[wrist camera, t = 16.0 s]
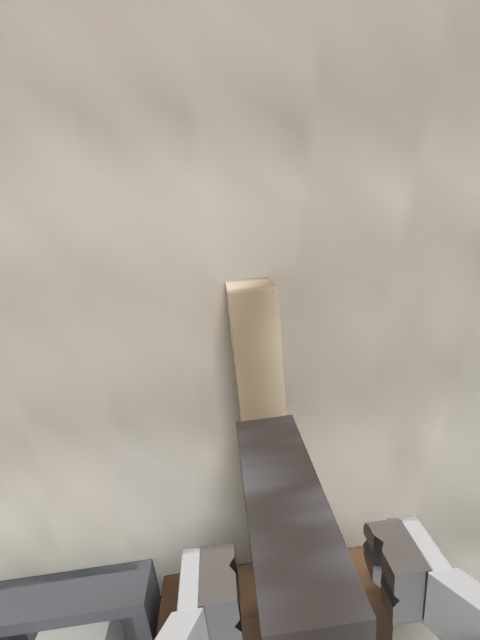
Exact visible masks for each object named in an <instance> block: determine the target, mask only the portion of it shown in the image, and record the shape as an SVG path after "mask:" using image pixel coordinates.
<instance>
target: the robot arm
mask: <svg viewBox="0 0 480 640" xmlns="http://www.w3.org/2000/svg"><path fill="white" fill-rule="evenodd" d="M364 535H365V537H366V539H367V540H366V542H365V543H364V544H363V548H364V557H365V562H366V566H367V569H368V572H369V574H370V576H371V579H372V581H373V582H374V583H375V584H376V585H377V586H379V587H380V588H381V591H380V599H381V601H382V603H383V606H384V608H385V610H386V612H387V614H388V617H389V619H390V621H391V623H392V625H400V624H408V623H415V622H423V621H424V624H425V625H426V626H427V627H428V628H429V629H430V630H431V631H432V632H433V633H434V634H435V635H436V636H437V637H438V638H439V639H440V640H480V582H479V581H477V580H476V579H474V578H473V577H471V576H470V575H468V574H467V573H465V572H464V571H462V570H461V569H459V568H458V567H457V568H452V567H451V565H450V564H449V562H448V561H447V560H446V558H445V557H444V555H443V554H442V553H441V551H440V550H439V548H438V547H437V545H436V544H435V543H434V541H433V540H432V538H431V537H430V535H429V534H428V533H427V531H426V530H425V528H424V527H423V525H422V524H421V523H420V521H419V520H418V518H416V517H415V516H409V517H402V518H393V519H387V520H381V521H375V522H369V523H365V525H364ZM240 603H241V600H240V588H239V577H238V568H237V563H236V553H235V546H234V543H231V544H223V545H214V546H206V547H198V548H191V549H184V550H183V553H182V559H181V570H180V581H179V592H178V603H177V611H175V612H171V614H170V615H169V617H168V618H167V620H166V622H165V623H164V625H163V627H162V628H161V630H160V631H159V633H158V635H157V636H156V638H155V639H154V640H243V627H242V616H241V608H240Z"/></svg>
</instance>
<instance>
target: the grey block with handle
mask: <svg viewBox="0 0 480 640" xmlns="http://www.w3.org/2000/svg"><path fill="white" fill-rule="evenodd" d="M225 284H226V294H227V303H228V312H229V321H230V330H231V340H232V349H233V358H234V367H235V376H236V385H237V395H238V404H239V413H240V422H236V427H237V435H238V444H239V453H240V462H241V471H242V479H243V488H244V496H245V505H246V513H247V521H248V530H249V538H250V547H251V555H252V564H253V572H254V581H255V589H256V598H257V606H258V615H259V623H260V632H261V640H376V620H377V619H376V617H375V614H374V612H373V609H372V607H371V604H370V602H369V600H368V597H367V595H366V592H365V590H364V588H363V585H362V583H361V580H360V578H359V575H358V573H357V571H356V568H355V566H354V563H353V561H352V559H351V556H350V554H349V551H348V549H347V546H346V544H345V542H344V539H343V537H342V534H341V532H340V530H339V527H338V525H337V522H336V520H335V518H334V515H333V513H332V510H331V508H330V505H329V503H328V501H327V498H326V496H325V493H324V491H323V489H322V486H321V484H320V481H319V479H318V476H317V474H316V472H315V469H314V467H313V464H312V462H311V460H310V457H309V455H308V452H307V450H306V448H305V445H304V443H303V440H302V438H301V435H300V433H299V431H298V428H297V426H296V423H295V421H294V419H293V416H292V415H286V402H285V386H284V370H283V354H282V338H281V323H280V307H279V291H278V287H277V286H276V285H275V284H274V283H273V282H272V281H271V280H270V279H269V278H268V277H261V278H252V279H243V280H234V281H225Z"/></svg>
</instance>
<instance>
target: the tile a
mask: <svg viewBox="0 0 480 640" xmlns="http://www.w3.org/2000/svg"><path fill="white" fill-rule="evenodd" d="M35 640H125V636H124V633H123V629H122V625H121V622H120V619H118V620H112V621H105V622H99V623H92V624H86V625H79V626H73V627H66V628H60V629H53V630H47V631H40V632H38V634H37V637H36V639H35Z"/></svg>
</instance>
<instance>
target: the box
mask: <svg viewBox="0 0 480 640" xmlns="http://www.w3.org/2000/svg"><path fill="white" fill-rule="evenodd" d="M160 603H161V597H160V592H159V588H158V584H157V579H156V575H155V571H154V566H153V562H152V559H150V560H144V561H137V562H130V563H123V564H116V565H109V566H103V567H96V568H89V569H82V570H75V571H69V572H62V573H55V574H48V575H41V576H35V577H28V578H21V579H14V580H7V581H1V582H0V640H35V639H36V637H37V634H38V632H40V631H47V630H53V629H60V628H66V627H73V626H79V625H86V624H92V623H99V622H105V621H112V620H118V619H120V622H121V625H122V629H123V633H124V636H125V640H154V639H155V638H156V636H157V634H156V633H157V625H158V618H159V611H160Z"/></svg>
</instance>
